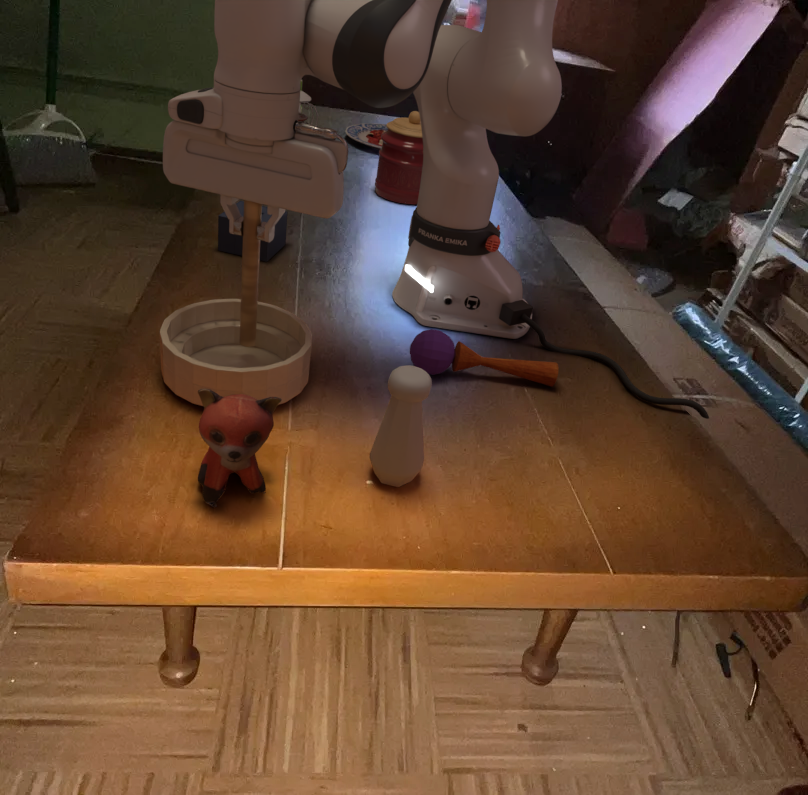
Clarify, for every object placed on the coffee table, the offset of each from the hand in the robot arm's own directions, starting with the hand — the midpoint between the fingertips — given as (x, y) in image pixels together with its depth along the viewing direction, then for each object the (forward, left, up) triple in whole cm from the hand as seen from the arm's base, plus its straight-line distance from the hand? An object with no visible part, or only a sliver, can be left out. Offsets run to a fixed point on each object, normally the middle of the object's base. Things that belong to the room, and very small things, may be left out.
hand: (251, 236), depth 85 cm
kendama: (-29, -10, -17) cm, 35 cm away
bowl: (0, +4, -17) cm, 17 cm away
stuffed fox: (-8, +22, -17) cm, 29 cm away
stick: (0, 0, -14) cm, 14 cm away
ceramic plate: (+10, -118, -17) cm, 120 cm away
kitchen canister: (-2, -79, -17) cm, 81 cm away
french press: (+27, -88, -17) cm, 94 cm away
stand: (+14, -34, -17) cm, 41 cm away
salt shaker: (-23, +15, -17) cm, 32 cm away
